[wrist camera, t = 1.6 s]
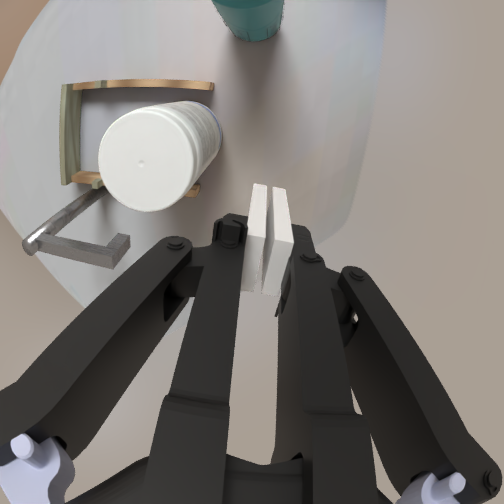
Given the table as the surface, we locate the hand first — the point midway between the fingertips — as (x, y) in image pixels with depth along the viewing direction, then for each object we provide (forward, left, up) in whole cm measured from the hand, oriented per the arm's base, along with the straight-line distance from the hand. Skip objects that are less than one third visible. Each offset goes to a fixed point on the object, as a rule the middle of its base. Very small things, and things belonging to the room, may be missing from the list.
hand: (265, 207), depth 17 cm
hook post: (+19, +9, -20) cm, 29 cm away
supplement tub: (+10, 0, -21) cm, 23 cm away
